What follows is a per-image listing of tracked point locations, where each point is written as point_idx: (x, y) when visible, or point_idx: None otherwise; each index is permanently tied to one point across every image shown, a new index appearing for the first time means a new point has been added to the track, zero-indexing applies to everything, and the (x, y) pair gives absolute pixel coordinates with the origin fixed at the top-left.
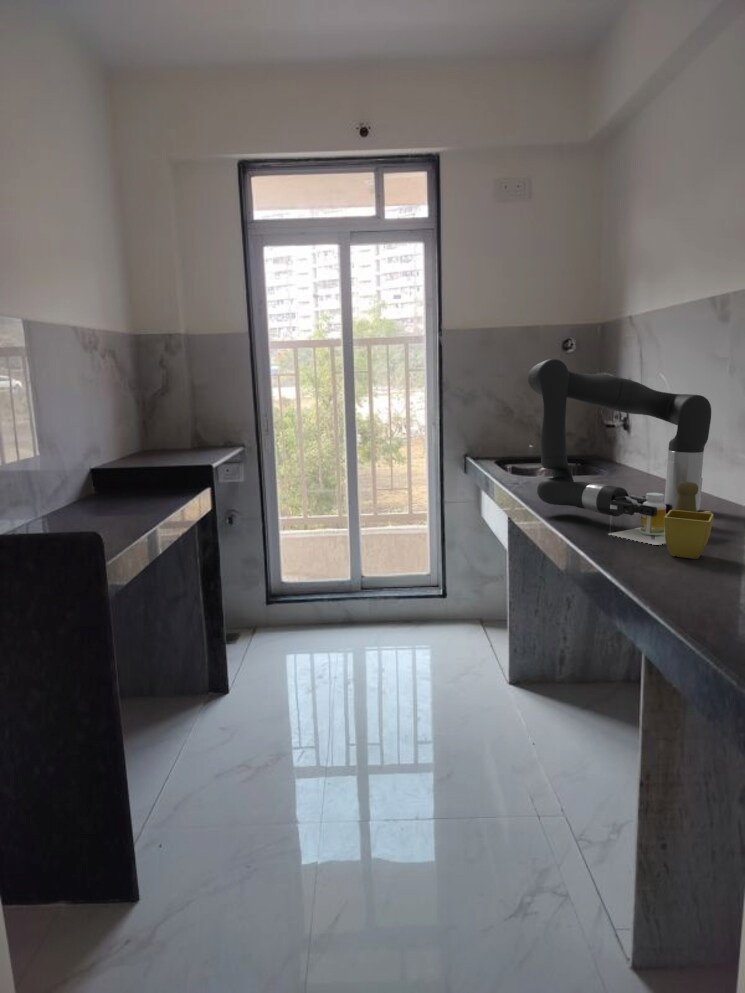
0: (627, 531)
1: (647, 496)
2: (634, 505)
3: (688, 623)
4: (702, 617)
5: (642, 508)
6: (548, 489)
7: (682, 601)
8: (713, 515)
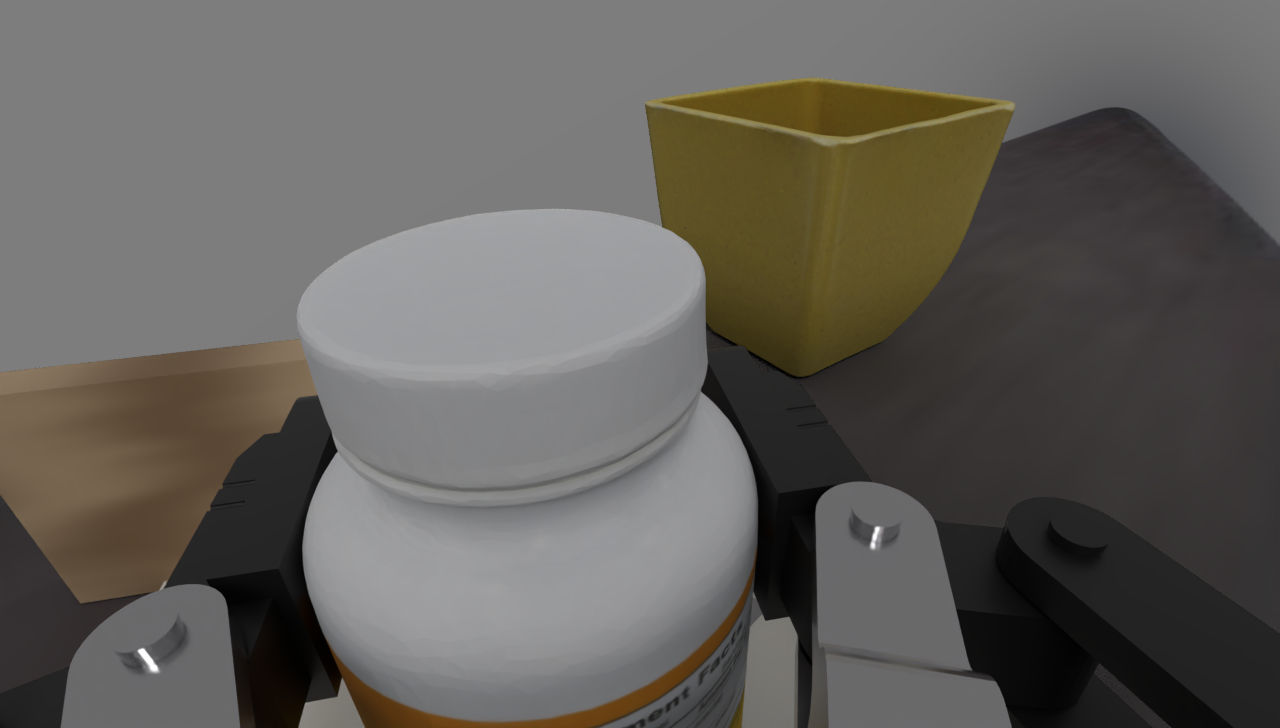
0: None
1: (700, 332)
2: (1017, 510)
3: (1127, 141)
4: (1081, 146)
5: (856, 474)
6: None
7: (1092, 171)
8: (674, 97)
